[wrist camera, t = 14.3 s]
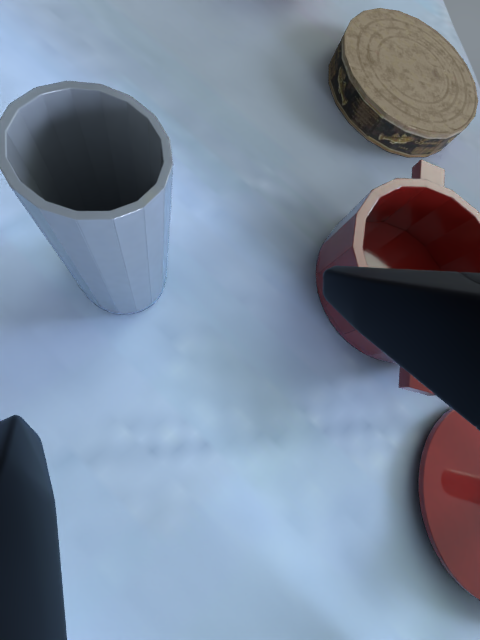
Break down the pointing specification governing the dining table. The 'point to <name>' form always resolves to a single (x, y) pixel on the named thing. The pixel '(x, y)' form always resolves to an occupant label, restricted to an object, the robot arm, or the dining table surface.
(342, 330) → the dutch oven
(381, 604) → the dining table surface
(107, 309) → the steel cup
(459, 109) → the tin can
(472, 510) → the dutch oven lid
